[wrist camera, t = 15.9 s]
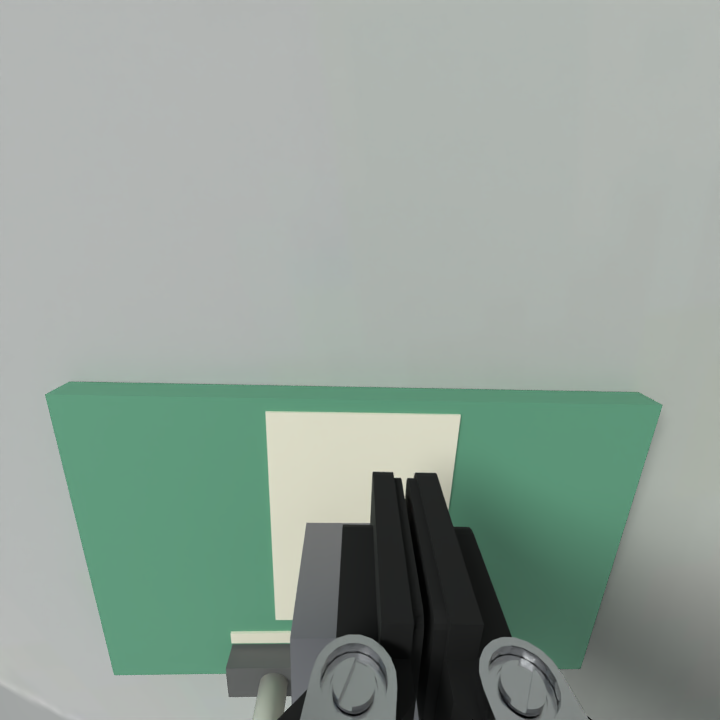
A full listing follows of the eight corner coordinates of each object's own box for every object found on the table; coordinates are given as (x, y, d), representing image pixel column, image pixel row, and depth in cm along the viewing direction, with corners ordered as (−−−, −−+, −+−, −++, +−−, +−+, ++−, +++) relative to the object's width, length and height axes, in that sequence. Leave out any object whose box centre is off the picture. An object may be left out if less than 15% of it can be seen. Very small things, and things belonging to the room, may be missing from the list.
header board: (638, 392, 15) (884, 523, 8) (566, 643, 19) (687, 866, 12) (69, 381, 14) (-195, 519, 7) (128, 647, 18) (-1, 891, 12)
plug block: (419, 523, 15) (448, 637, 11) (407, 634, 17) (427, 768, 13) (306, 522, 15) (289, 638, 11) (307, 635, 17) (293, 771, 12)
